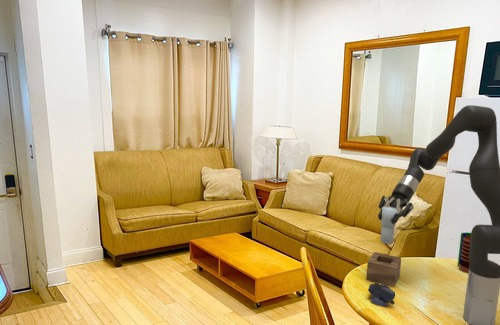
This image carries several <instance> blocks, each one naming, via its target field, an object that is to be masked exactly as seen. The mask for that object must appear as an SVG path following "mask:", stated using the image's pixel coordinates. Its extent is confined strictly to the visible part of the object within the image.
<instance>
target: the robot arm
mask: <svg viewBox="0 0 500 325" xmlns="http://www.w3.org/2000/svg"><path fill="white" fill-rule="evenodd" d="M497 123H498V122H497V114H496V112H495V111H494V109H493V108H491V107H486V106H481V105H472V104H471V105H470V104H469V105H465V106H464V107H462V108H460V110H459V111H458V112H457V113H456V114H455V116H454V117H453V118H452V119H451V121H450V122H449V123H448V124H447V126H446V127H445V128H444V130H443V131H441V133H439V135H437V136H436V137H435V138H434V139H433V140H431V142H429V143H428V144H427V145H426V148H423V147H417V148H415V149H414V150H413V151H412V153H411V154H410V157H409V163H408V167H407V169H406V171H405V172H404V174H403V175H402V176H401V178H400V179H399V181H398V182H397V183H396V185H395V187H394V188H393V189H392V192H391V195H389V196H388V197H386V196H385V195H382V196H381V198H380V202H379V204H378V205H377V206H378V208H379V213H378V214H377V218H378V220H380V221H381V220H382V208H383V207H393V208H396V209H397V211H396V214H395V215H394V216H393V218H392V220H391V222H392V224H395V225H396V223H397V222H398V221H399V219H400V218H401V217H403V218H406V217H407V216H408V215H409V214H410V213H411V212H412V211H413V209H415V206H414V204H413V203H412V202H410V201H411V200H412V198H413V196H414V195H415V193H416V191H417V189H418V187H419V185H420V183H421V182H422V180H423V178H424V177H425V172H424V170H425V171H431V170H433V169H434V168H435V167H436V165H437V164H438V162H439V160H440V159H441V158H442V157H443V156H445V155H446V154H447V153H448V152H450V151H451V150H452V149H453V147H454V146H455V143H456V137H457V136H458V135H460V134H462V133H464V132H471V133H477V137H478V138H477V139H478V140H477V141H478V148H477V150H476V153H475V154H474V156H473V157H472V159H471V162H470V164H469V168H468V173H469V180H470V181H469V182H470V188H471V189H472V191H473V193H474V194H475V195H476V197H477V198H478V199H479V200H480V202H481V203H482V204H483V206H484V207H485V209H486V210H487V212H488V214H489V218H490V221H491V222H490V223H491V224H475V225H474V226H473V228H472V229H471V231H470V233H471V237H470V251H469V263H470V266H469V274H468V273H467V274H468V275H467V282H466V291H465V298H464V306H463V312H462V313H463V314H462V317H463V319H464V321H466V322H467V324H468V325H496V317H497V312H498V304H499V297H500V264H498V263H496V262H495V261H493V260H490V259H489V258H488V257H489V255H490V254H491V255H500V158H499V149H498V126H497V125H498V124H497Z"/></svg>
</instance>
